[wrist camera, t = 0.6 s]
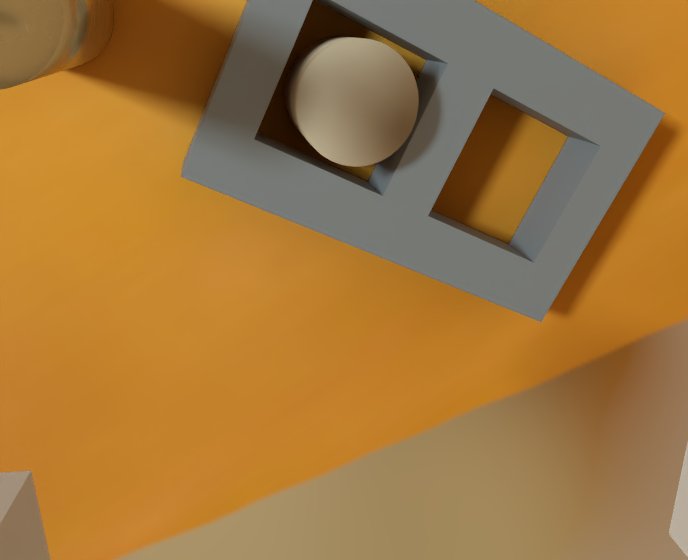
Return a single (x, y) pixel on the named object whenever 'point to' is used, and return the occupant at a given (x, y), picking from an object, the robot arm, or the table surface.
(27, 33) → the brass cylinder
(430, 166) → the jig plate
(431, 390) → the table surface
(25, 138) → the table surface
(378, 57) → the wooden plug
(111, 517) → the table surface
